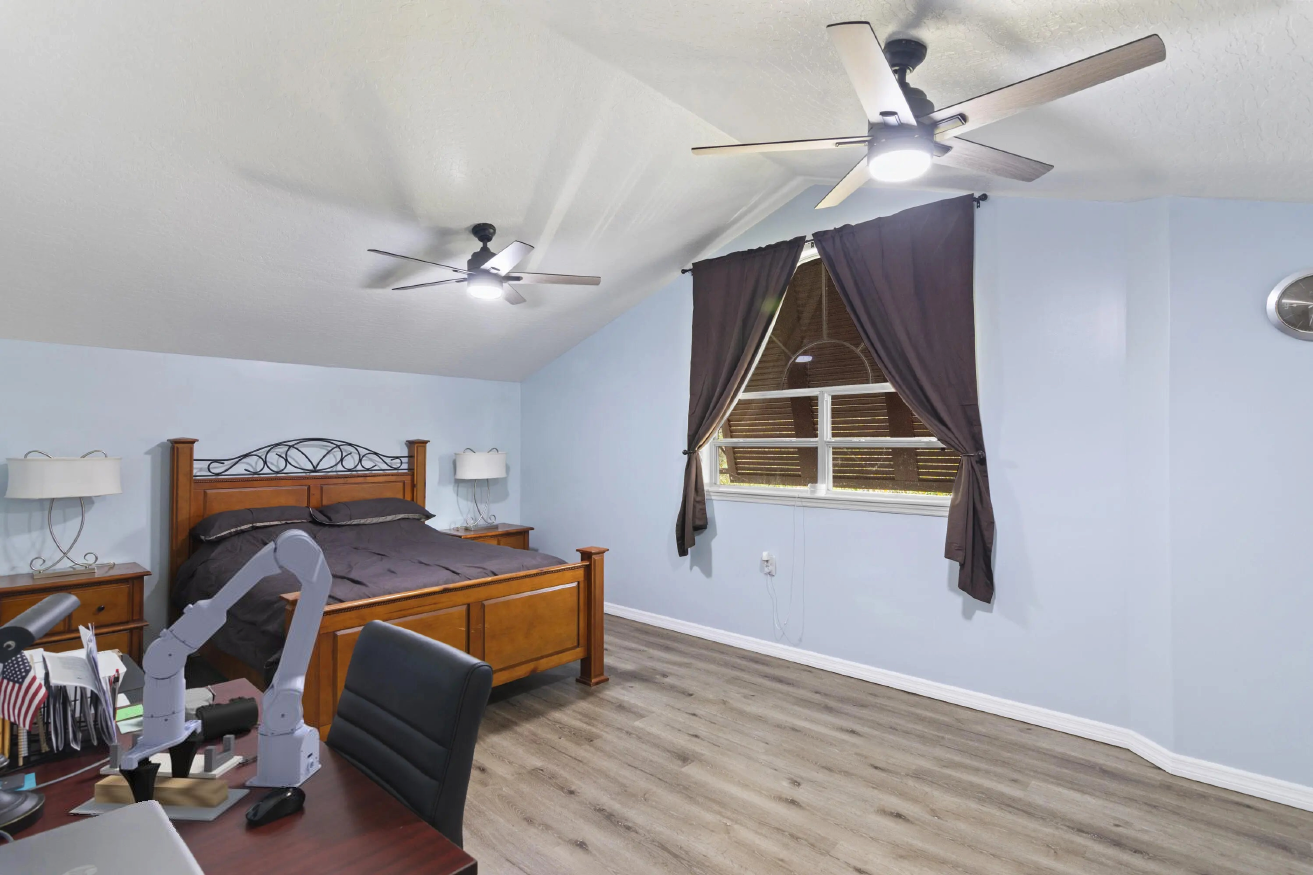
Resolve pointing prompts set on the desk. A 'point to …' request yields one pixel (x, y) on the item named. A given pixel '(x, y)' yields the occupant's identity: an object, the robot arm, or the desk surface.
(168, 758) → the hook rack
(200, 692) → the robot toy
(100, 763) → the desk surface
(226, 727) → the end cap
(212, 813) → the rubber mat
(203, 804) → the oak rail
